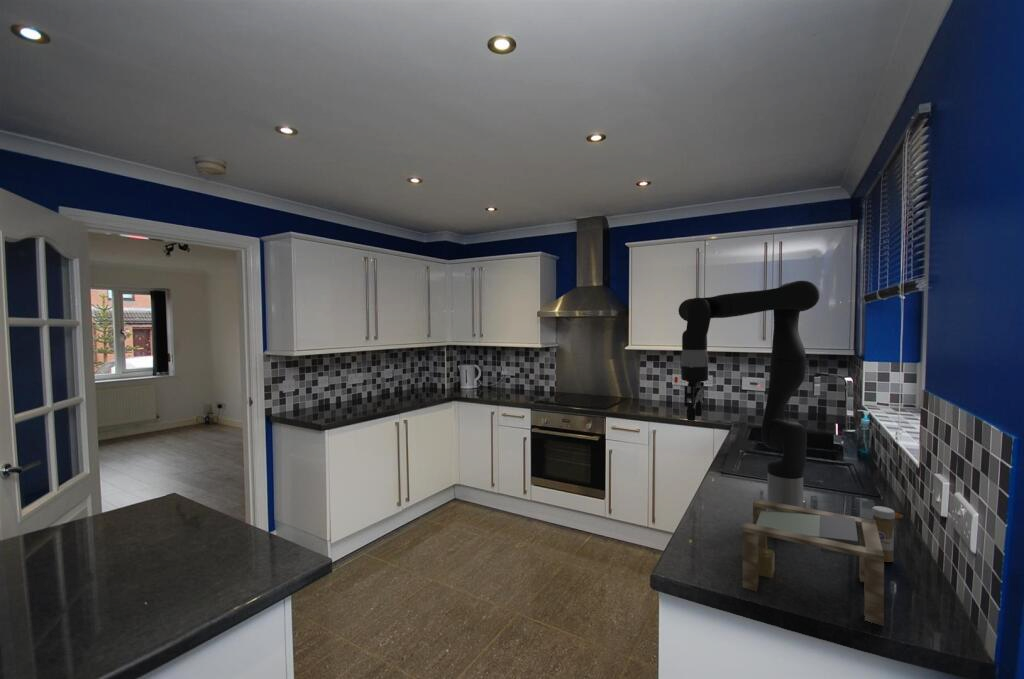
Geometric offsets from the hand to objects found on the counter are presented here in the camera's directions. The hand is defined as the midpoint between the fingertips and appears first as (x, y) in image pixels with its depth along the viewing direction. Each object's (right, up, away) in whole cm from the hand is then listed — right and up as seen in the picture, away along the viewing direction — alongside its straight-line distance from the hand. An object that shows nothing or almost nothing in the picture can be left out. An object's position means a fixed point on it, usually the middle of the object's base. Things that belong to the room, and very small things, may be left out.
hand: (694, 418), depth 139 cm
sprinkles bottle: (+42, -34, -18) cm, 57 cm away
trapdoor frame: (+16, -35, -29) cm, 48 cm away
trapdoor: (+15, -24, -29) cm, 40 cm away
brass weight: (+10, -32, -24) cm, 42 cm away
